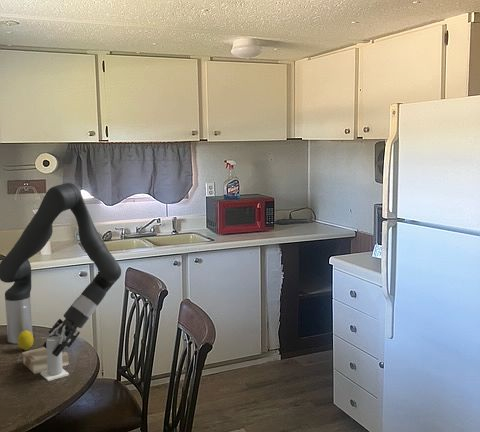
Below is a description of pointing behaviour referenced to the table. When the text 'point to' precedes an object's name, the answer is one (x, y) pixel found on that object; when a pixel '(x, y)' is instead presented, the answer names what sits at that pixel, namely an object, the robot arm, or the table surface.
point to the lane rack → (40, 360)
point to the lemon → (25, 340)
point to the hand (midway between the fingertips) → (49, 351)
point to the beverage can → (53, 356)
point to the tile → (52, 377)
